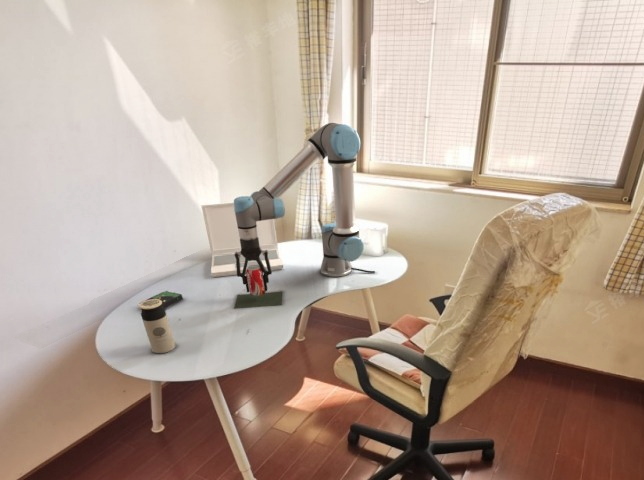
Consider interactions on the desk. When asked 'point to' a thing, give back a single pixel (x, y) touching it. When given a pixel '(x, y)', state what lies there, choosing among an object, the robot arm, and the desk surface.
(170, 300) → the disk drive
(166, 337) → the travel mug
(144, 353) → the desk surface
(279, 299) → the mat
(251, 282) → the soda can
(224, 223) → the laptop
